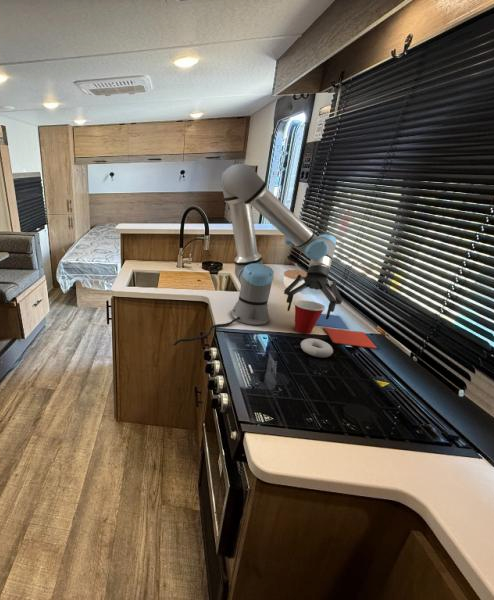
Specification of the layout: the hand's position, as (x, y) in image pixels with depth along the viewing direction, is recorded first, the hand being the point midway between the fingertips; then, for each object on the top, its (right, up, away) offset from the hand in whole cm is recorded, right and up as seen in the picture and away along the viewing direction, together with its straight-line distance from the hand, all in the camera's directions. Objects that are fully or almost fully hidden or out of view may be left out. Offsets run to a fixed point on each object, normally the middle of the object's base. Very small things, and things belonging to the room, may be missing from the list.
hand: (307, 313), depth 124 cm
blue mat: (+14, -3, +10) cm, 18 cm away
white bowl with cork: (+20, +11, +44) cm, 49 cm away
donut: (-5, -13, -12) cm, 19 cm away
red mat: (+14, -9, -4) cm, 17 cm away
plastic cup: (-1, -7, +2) cm, 8 cm away
